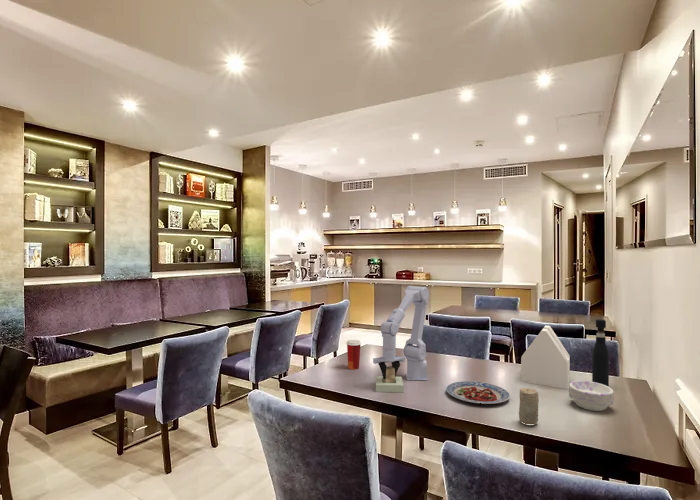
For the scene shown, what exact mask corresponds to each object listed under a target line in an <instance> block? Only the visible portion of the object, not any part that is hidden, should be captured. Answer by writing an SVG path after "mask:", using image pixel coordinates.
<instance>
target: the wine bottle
mask: <svg viewBox="0 0 700 500" xmlns="http://www.w3.org/2000/svg"><path fill="white" fill-rule="evenodd" d="M606 322H607V321H606V320H605V319H595V328H597V332H596V336H595V344H594V346H593V349H592V354H591V355H592V357H591V364H592V365H591V366H592V367H591V368H592V371H591V374H592V375H591V376H592V378H591V382H596V383H600V384H603V385H606V386H608V387H610V386H609V385H610V376H609V375H610V373H609V371H610V355H609V354H610V353H609V349H608V346H607V344H606V341H607V340H606V334H605V329H606V328H607V327H606V326H607V325H606Z"/></svg>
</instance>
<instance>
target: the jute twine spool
mask: <svg viewBox="0 0 700 500" xmlns="http://www.w3.org/2000/svg"><path fill="white" fill-rule="evenodd" d="M539 401H540V400H539V392H538V391H537V390H536V389H535V388H528V387H522V388H520V389H519V404H518V405H519V409H518V410H519V411H518V420H519V422H520V421H521V422H523V423H525V424H535V425H537V424H538V422H539V403H540V402H539ZM521 422H520V423H521Z"/></svg>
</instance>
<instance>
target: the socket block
mask: <svg viewBox="0 0 700 500" xmlns="http://www.w3.org/2000/svg"><path fill="white" fill-rule="evenodd" d="M374 379H375V381H374V382H375V392H376V393H404V390H405V389H404V388H405V386H404V380H403V377H402V376H396V377H395V383H383V376H382V375H375V378H374Z"/></svg>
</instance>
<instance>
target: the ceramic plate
mask: <svg viewBox="0 0 700 500" xmlns="http://www.w3.org/2000/svg"><path fill="white" fill-rule="evenodd" d="M445 391H446V392H447V393H448V395H449V396H451V397H454V398H455V399H458V400H461V401H463V402H468V403H473V404H480V403H481V404H483V405H487V404H489V405H492V404H494V405H495V404H500V403H505V402H507V401H508V400H510V397H511V394H510V392H509V391H508V390H507V389H505V388H503V387H502V386H498V385H496V384H491V383H489V382H482V381H475V380H473V381H472V380H471V381H469V380H464V381H456V382H453V383H452V382H451V383H450V384H448V385H447V386H446V389H445Z"/></svg>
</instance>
